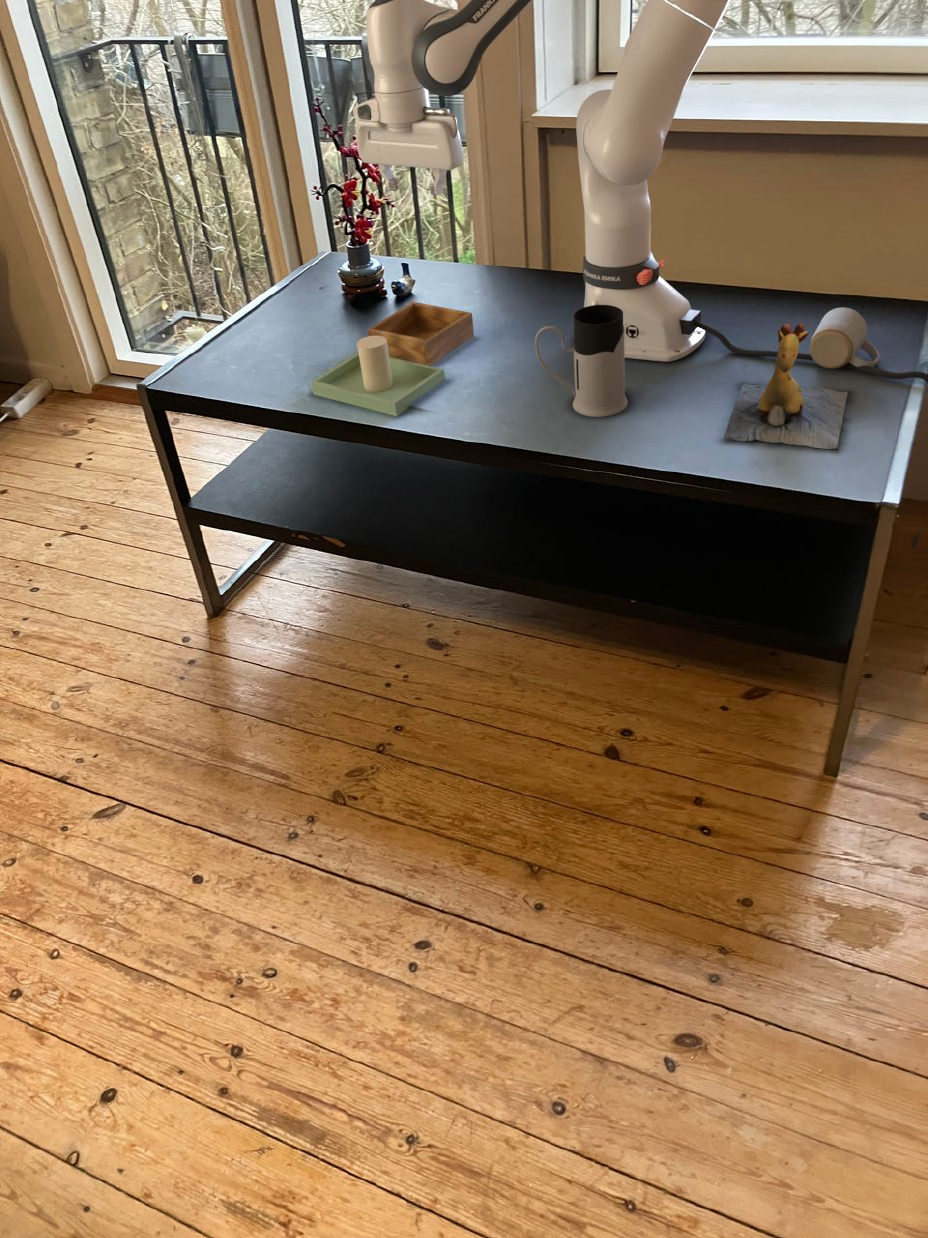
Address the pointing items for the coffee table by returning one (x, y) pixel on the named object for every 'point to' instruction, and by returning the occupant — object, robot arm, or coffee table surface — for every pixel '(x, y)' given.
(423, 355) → the wooden box
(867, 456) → the coffee table surface
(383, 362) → the candle
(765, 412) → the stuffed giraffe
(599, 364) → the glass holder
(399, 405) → the tray
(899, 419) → the coffee table surface
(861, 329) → the ceramic mug
